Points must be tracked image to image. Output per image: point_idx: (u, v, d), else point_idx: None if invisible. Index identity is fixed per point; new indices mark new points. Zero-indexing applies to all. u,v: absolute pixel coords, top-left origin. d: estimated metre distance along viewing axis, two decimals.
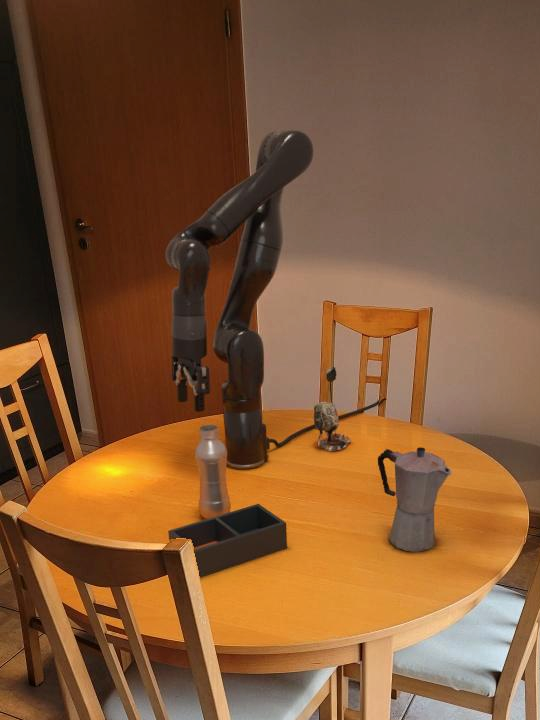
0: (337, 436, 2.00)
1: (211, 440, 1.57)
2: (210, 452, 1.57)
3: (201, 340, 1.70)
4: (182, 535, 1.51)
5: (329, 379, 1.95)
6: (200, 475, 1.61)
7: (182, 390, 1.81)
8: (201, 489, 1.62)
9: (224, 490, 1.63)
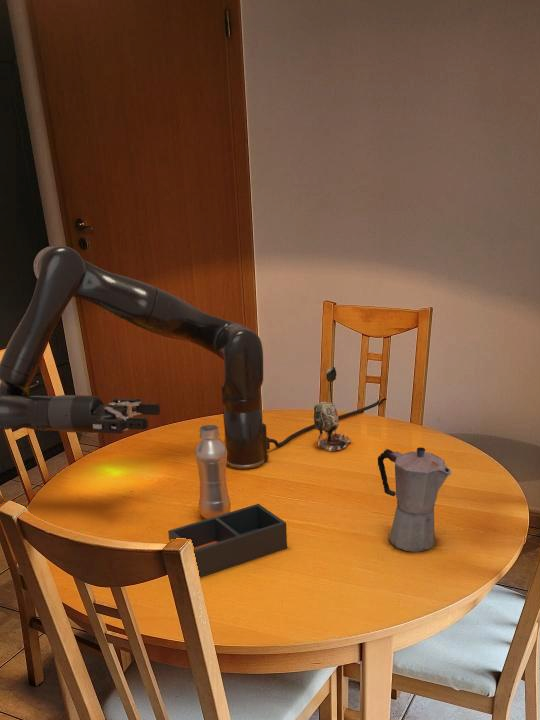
0: (337, 436, 2.00)
1: (211, 440, 1.57)
2: (210, 452, 1.57)
3: (72, 414, 1.56)
4: (182, 535, 1.51)
5: (329, 379, 1.95)
6: (200, 475, 1.61)
7: (146, 409, 1.62)
8: (201, 489, 1.62)
9: (224, 490, 1.63)
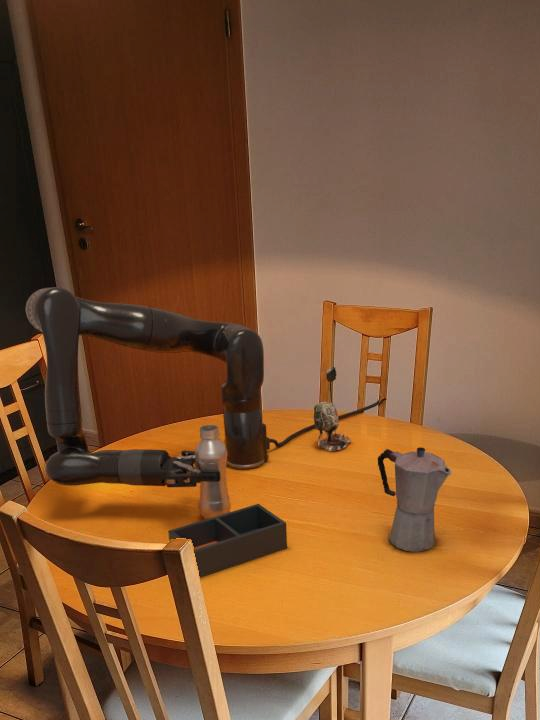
0: (337, 436, 2.00)
1: (211, 440, 1.57)
2: (210, 452, 1.57)
3: (141, 469, 1.60)
4: (182, 535, 1.51)
5: (329, 379, 1.95)
6: None
7: None
8: (201, 489, 1.62)
9: (224, 490, 1.63)
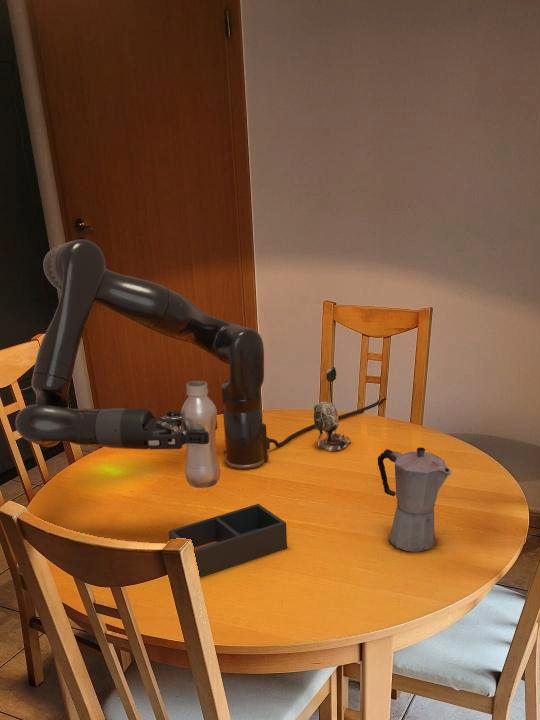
0: (337, 436, 2.00)
1: (199, 397, 1.41)
2: (197, 411, 1.41)
3: (121, 429, 1.44)
4: (182, 535, 1.51)
5: (329, 379, 1.95)
6: None
7: None
8: (188, 453, 1.46)
9: (213, 454, 1.47)
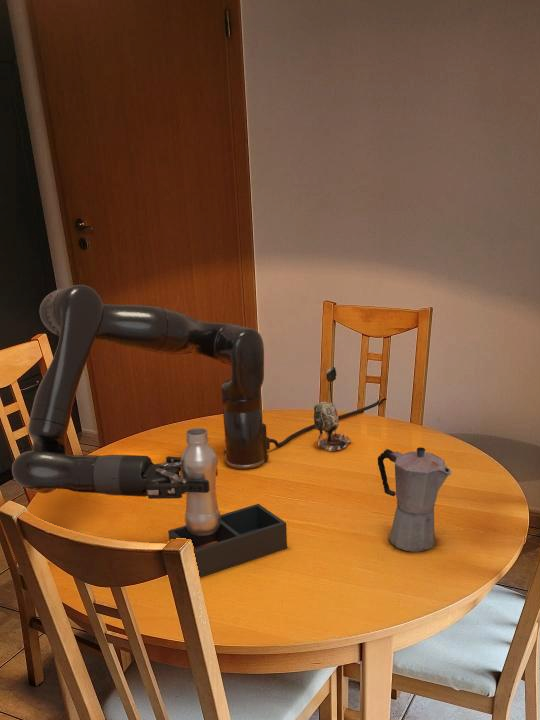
0: (337, 436, 2.00)
1: (199, 445, 1.39)
2: (198, 459, 1.39)
3: (120, 477, 1.41)
4: (182, 535, 1.51)
5: (329, 379, 1.95)
6: None
7: None
8: (187, 500, 1.44)
9: (213, 502, 1.44)
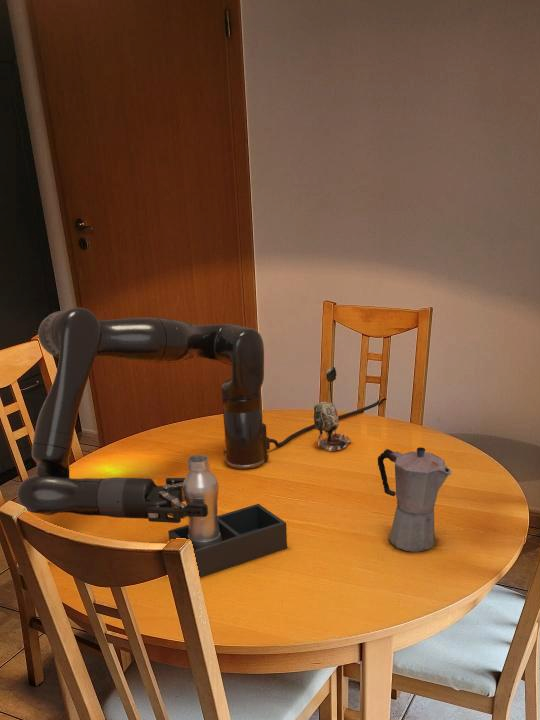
0: (337, 436, 2.00)
1: (200, 472, 1.41)
2: (199, 486, 1.41)
3: (124, 500, 1.43)
4: (182, 535, 1.51)
5: (329, 379, 1.95)
6: None
7: None
8: (190, 526, 1.46)
9: (215, 527, 1.46)
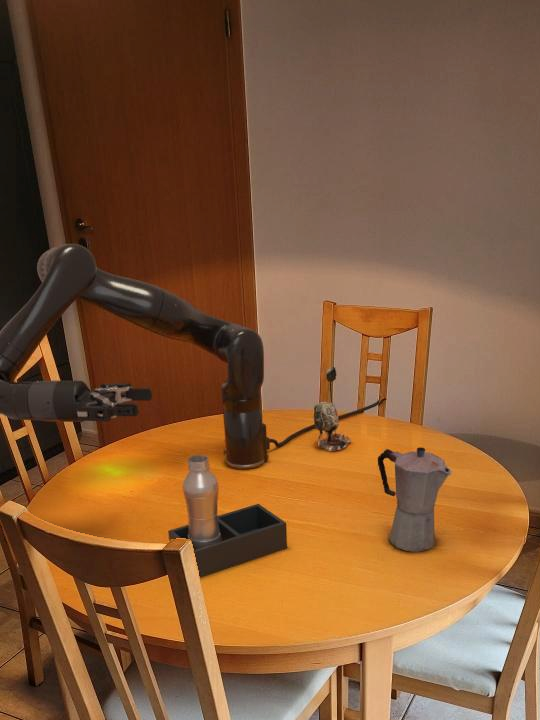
0: (337, 436, 2.00)
1: (200, 472, 1.41)
2: (199, 486, 1.41)
3: (54, 401, 1.42)
4: (182, 535, 1.51)
5: (329, 379, 1.95)
6: (188, 511, 1.45)
7: (136, 395, 1.47)
8: (190, 526, 1.46)
9: (215, 527, 1.46)
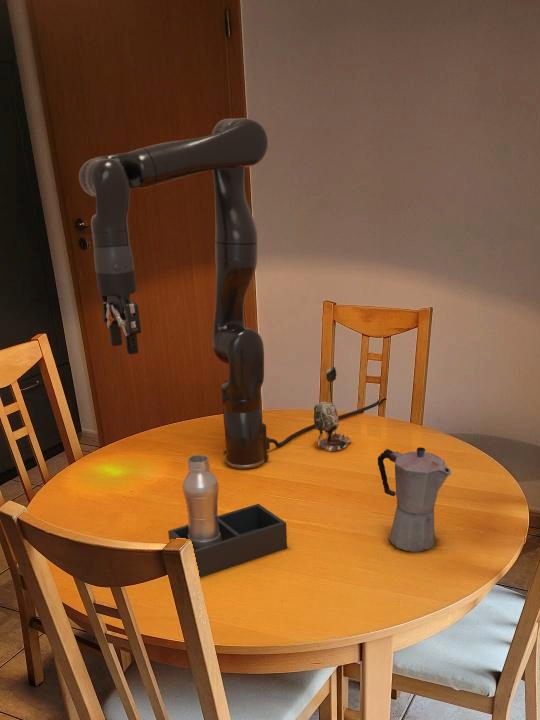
0: (337, 436, 2.00)
1: (200, 472, 1.41)
2: (199, 486, 1.41)
3: (127, 273, 1.54)
4: (182, 535, 1.51)
5: (329, 379, 1.95)
6: (188, 511, 1.45)
7: (115, 333, 1.65)
8: (190, 526, 1.46)
9: (215, 527, 1.46)
